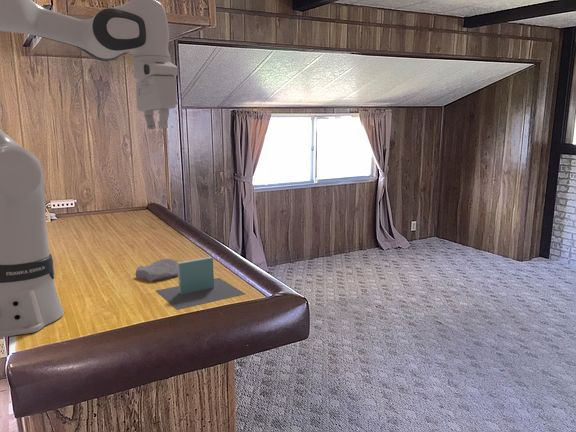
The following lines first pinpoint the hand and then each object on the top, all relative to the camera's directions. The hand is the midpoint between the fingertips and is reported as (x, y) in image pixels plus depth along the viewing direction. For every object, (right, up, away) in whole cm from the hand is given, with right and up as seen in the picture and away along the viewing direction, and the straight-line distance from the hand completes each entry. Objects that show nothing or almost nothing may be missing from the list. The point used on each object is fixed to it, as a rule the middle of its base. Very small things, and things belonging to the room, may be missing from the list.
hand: (157, 129), depth 117 cm
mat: (+10, -42, +4) cm, 43 cm away
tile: (+9, -41, +6) cm, 42 cm away
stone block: (-4, -40, +19) cm, 44 cm away
